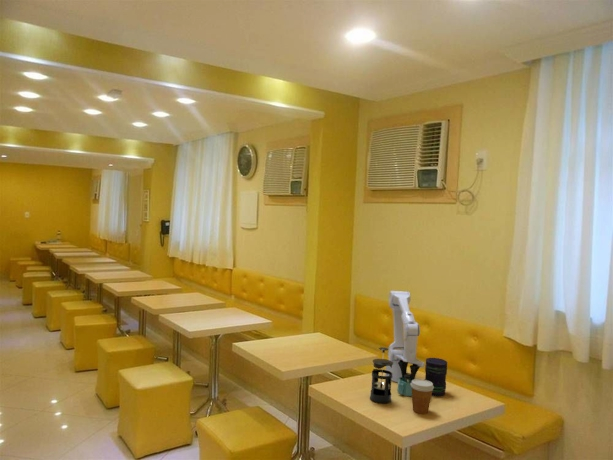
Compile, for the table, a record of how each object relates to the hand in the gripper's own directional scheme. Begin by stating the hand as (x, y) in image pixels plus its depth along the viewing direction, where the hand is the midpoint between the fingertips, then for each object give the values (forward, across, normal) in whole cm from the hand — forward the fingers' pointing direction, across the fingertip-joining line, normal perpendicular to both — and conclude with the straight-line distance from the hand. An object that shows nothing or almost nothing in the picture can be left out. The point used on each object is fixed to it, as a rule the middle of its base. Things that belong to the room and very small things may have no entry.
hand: (408, 378), depth 212 cm
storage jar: (+7, +8, +11) cm, 15 cm away
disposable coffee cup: (+7, +15, -13) cm, 21 cm away
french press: (+7, -3, -17) cm, 19 cm away
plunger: (+7, 0, 0) cm, 7 cm away
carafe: (+7, 0, 0) cm, 7 cm away
